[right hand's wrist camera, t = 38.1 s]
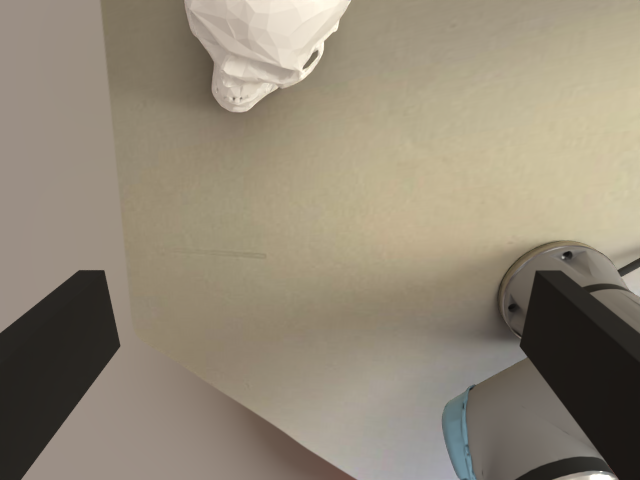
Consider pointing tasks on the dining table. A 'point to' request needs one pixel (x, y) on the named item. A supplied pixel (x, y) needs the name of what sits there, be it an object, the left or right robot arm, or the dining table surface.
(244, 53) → the skull
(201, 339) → the dining table surface
